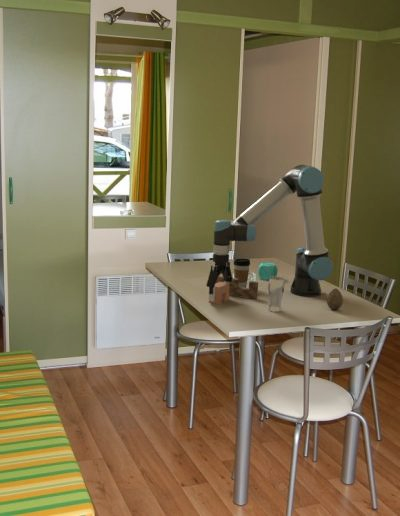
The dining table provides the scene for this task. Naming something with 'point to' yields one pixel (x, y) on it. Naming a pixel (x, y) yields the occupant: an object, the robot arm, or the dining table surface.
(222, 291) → the notched block
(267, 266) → the decorative dice
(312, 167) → the robot arm
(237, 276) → the coffee cup
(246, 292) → the slotted board
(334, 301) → the decorative egg
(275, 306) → the beer glass
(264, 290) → the dining table surface
